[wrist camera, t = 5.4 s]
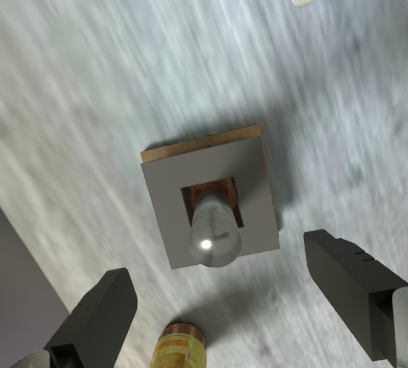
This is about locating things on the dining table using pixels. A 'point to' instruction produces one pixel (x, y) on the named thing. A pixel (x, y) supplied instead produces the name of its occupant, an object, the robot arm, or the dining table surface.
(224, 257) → the bronze plate with post
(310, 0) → the eye dropper bottle
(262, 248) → the collar
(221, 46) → the dining table surface
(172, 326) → the sauce bottle
